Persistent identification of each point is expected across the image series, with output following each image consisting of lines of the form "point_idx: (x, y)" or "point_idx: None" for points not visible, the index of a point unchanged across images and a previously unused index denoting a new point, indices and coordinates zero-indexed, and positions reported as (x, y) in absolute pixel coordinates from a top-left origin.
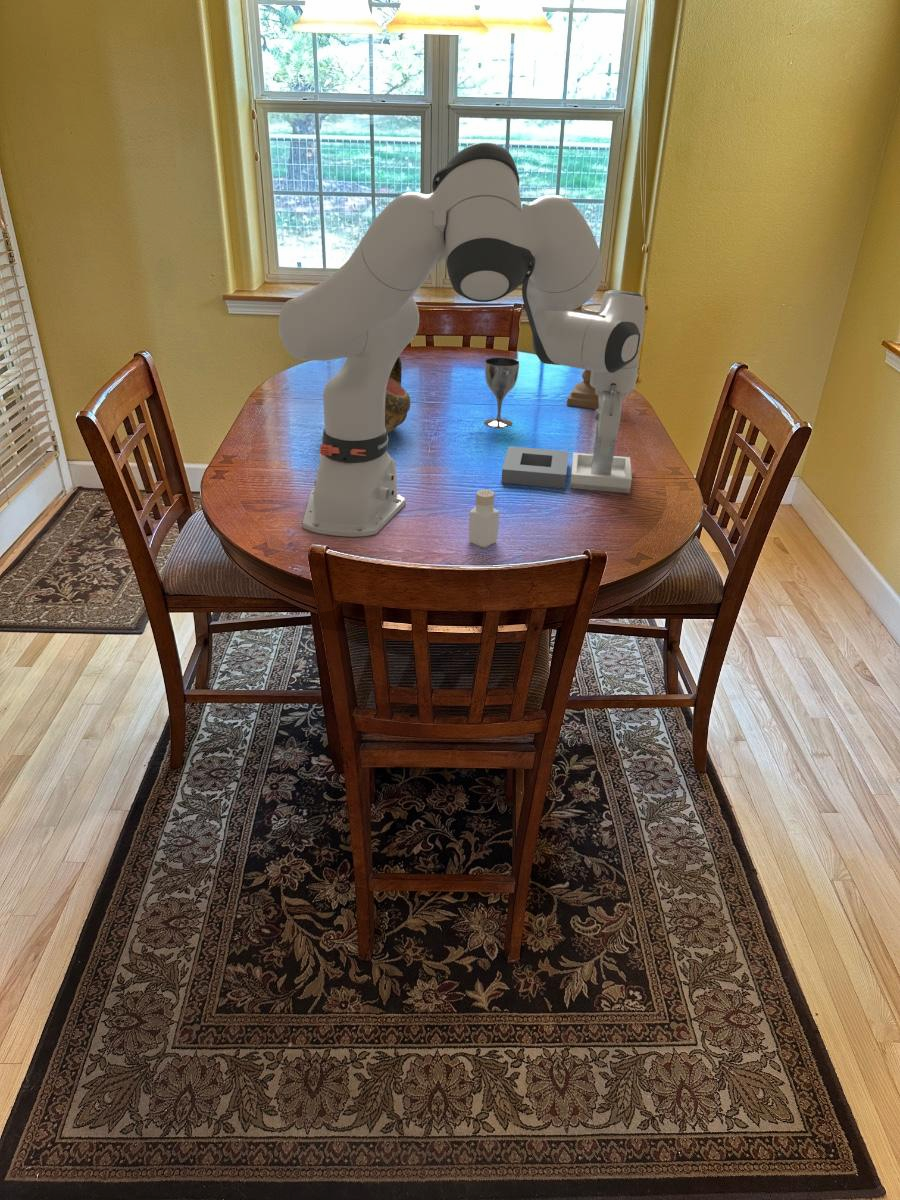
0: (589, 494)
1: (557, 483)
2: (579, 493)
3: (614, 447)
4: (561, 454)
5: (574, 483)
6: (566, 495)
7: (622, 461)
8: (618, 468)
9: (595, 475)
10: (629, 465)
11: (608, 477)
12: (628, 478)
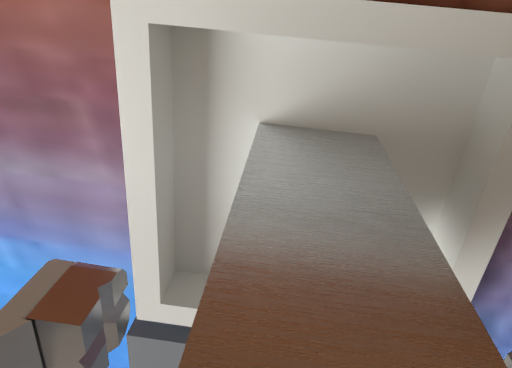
0: (504, 238)
1: None
2: (485, 277)
3: (446, 262)
4: (178, 366)
5: None
6: (500, 325)
7: (159, 41)
8: (197, 61)
9: (475, 261)
10: (290, 4)
11: None
12: None
